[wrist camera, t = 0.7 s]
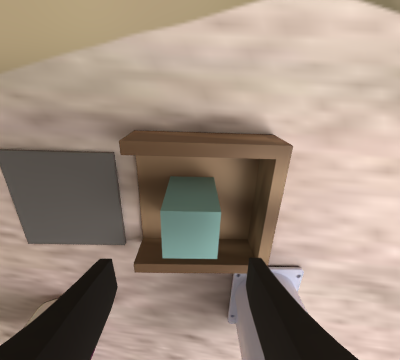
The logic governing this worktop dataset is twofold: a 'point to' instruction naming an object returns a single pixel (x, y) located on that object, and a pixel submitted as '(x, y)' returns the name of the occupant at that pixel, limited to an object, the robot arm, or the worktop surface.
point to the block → (190, 218)
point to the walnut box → (226, 189)
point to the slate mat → (65, 196)
